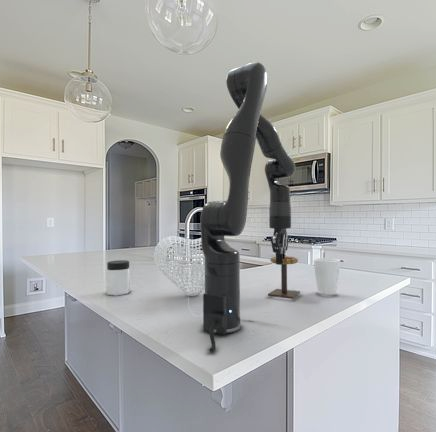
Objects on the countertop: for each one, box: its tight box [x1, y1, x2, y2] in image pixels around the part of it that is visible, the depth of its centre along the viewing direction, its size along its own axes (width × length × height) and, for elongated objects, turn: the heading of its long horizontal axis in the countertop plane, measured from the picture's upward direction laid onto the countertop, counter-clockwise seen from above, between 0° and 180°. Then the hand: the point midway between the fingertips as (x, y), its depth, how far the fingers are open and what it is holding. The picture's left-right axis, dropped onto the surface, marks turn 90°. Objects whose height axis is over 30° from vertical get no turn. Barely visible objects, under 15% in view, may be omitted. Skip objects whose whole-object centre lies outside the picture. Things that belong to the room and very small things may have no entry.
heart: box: [153, 235, 227, 297], centre depth 113 cm, size 28×16×22 cm, turn 94°
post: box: [267, 264, 301, 300], centre depth 111 cm, size 9×9×14 cm
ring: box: [270, 255, 299, 265], centre depth 111 cm, size 10×10×2 cm
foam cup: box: [313, 257, 341, 296], centre depth 113 cm, size 10×9×13 cm
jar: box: [105, 259, 131, 297], centre depth 118 cm, size 9×8×12 cm
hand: (280, 263), depth 108 cm, fingers closed on ring, 2 cm apart
